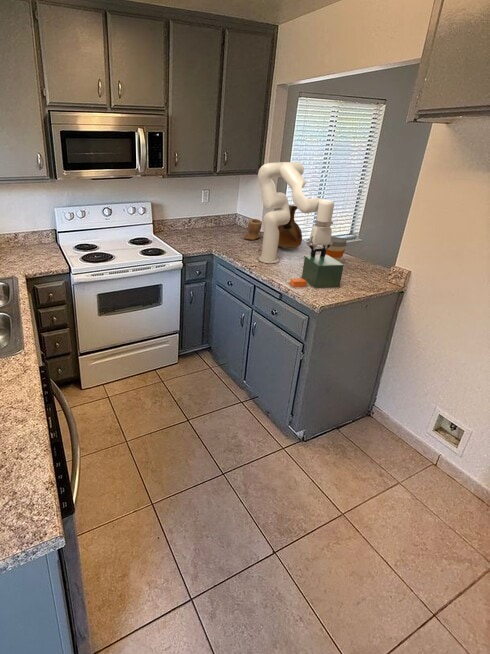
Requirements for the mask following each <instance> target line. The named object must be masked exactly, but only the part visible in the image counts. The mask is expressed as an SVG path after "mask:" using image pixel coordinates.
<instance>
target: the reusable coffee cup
mask: <svg viewBox="0 0 490 654" xmlns="http://www.w3.org/2000/svg"><path fill="white" fill-rule="evenodd" d="M331 240H332V242H333V244H332V245H331V246H330V247H329V248H328V249H327V250H326V255H328V256H330V257H332V258H333V259H335V260H337V261H338V262H340V263H341V260H342V258H343V256H344V253H345V250H346V246H347V240H346V239H345V238H343V237H340V236H339V237H337V236H331Z"/></svg>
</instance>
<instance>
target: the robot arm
mask: <svg viewBox="0 0 490 654" xmlns="http://www.w3.org/2000/svg"><path fill="white" fill-rule="evenodd" d="M304 172H305V168H304V166H303V164H302V163H301V162H298V161H295V162H293V161H292V162H291V161H278V162H267V163H264V164H263V165H261V167H260V168H259V169H258V173H257V179H258V182H259V187H260V191H261V193H260V194H261V197H262V198H261V200H262V204H263V208H265V210H270V211H268V212H266V213H265V214H264V216H263V219H262V221H263V222H262V224H263V234H262V245H261V253H260V254H261V256H260V255H259V257H258V261H259V262H261V263H264V264H277V263H279V262H280V259H279V258H278V249H279V246H278V242H279V230H278V226H281V225H285V224H287V223H288V222H289V221H290V210H289V205H290V204H289V198H288V197H287V195H286V193H284V192H280V191H279V192H277V189H276V184H275V182H274V180H273V179H272V178H280V177H281V178H282V179H283V180H284V181H285V183H286V184H287V186H288V187H289V189H290V190H291V198H292V201H293V204H294V206H297V209H298V211H299V212H301V213H302V214H311V213H316V219H315V225H313V227H312V229H311V232H310V236H309V240H308V241H307V242H306V246H308V247H309V248H310V255H311V256H312V257H315V255H316V254H317V252H316V250H315V249H316V248H317V246H322V248H324V251H323V254H322V256H323V257H325V255H326V250H327V249H328V248H329V247H330V246H331V245H332V244H333V242H332V240H331V237H332V235H333V234H332V232H333V231H332V230H333V229H332V225H334V221H332V220H333V214H334V208H335V202H334V201H333V200H327V199H323V198H320V197H313V198H307V197H306V195H305V194H304V192H303V188H304V187H305V186H306V184H307V181H306V179H305V178H304V176H303V174H304ZM271 210H272V211H271ZM315 253H316V254H315Z"/></svg>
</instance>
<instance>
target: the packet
mask: <svg viewBox="0 0 490 654" xmlns="http://www.w3.org/2000/svg"><path fill="white" fill-rule="evenodd" d="M289 280H290V281H289V284H290V285H291V286H292V287H293V288H305V287H307V285H308V284H307V283H308V282H307V281H306V280H305V279H303V278H302V277H301V278H300V277H299V278H298V277H297V278H290V279H289Z"/></svg>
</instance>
